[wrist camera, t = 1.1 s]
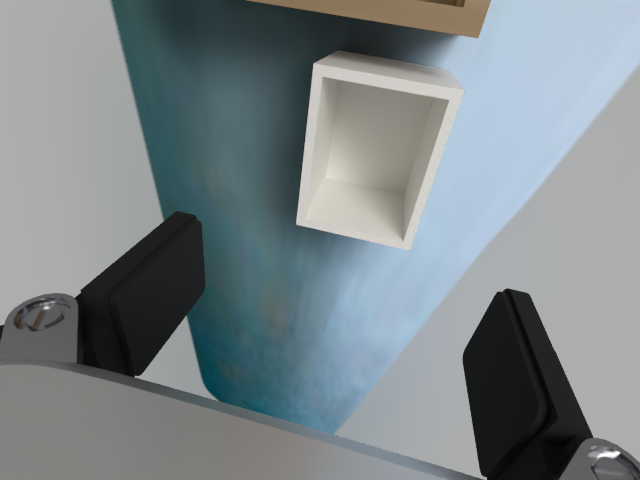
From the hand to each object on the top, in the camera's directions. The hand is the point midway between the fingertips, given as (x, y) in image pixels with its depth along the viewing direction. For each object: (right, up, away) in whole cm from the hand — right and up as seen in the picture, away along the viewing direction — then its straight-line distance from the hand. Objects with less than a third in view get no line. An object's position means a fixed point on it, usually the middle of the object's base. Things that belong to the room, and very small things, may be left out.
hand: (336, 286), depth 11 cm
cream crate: (+3, +9, +13) cm, 16 cm away
